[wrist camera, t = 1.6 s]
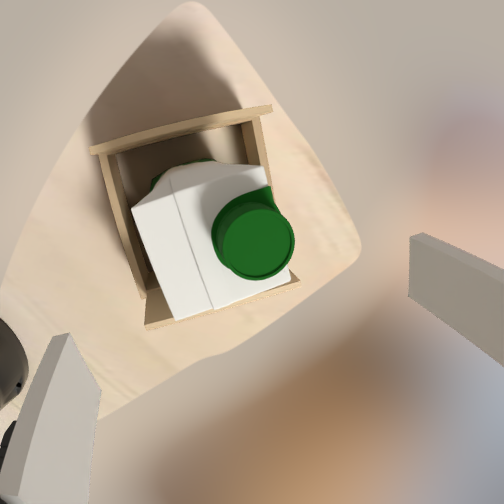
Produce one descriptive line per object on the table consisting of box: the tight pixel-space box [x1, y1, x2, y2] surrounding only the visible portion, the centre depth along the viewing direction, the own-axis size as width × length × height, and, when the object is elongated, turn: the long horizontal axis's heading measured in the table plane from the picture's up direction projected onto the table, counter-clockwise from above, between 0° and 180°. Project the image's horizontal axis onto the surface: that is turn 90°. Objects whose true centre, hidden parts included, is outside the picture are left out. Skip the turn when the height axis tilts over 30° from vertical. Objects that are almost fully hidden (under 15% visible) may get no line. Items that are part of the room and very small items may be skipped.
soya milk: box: [131, 158, 295, 321], centre depth 26 cm, size 9×9×20 cm
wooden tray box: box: [89, 104, 301, 331], centre depth 30 cm, size 16×16×12 cm
